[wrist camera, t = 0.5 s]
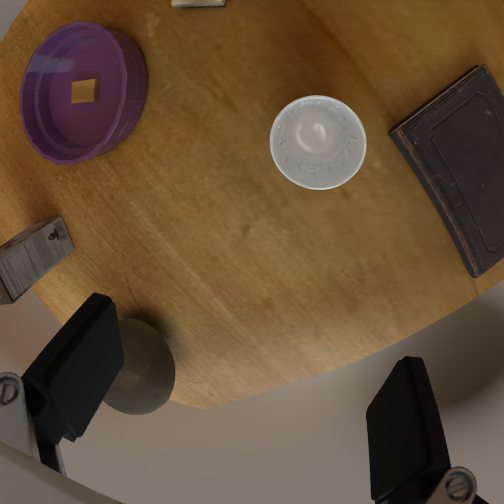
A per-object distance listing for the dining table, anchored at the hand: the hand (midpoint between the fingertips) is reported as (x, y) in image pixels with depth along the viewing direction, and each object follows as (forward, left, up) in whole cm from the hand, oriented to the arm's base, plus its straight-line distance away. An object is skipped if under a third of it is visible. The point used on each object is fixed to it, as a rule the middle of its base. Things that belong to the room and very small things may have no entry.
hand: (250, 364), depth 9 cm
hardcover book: (-5, +24, -29) cm, 38 cm away
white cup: (-5, +2, -29) cm, 30 cm away
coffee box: (+14, -37, -29) cm, 49 cm away
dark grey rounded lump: (+30, -19, -29) cm, 46 cm away
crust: (-9, -27, -28) cm, 40 cm away
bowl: (-9, -27, -29) cm, 40 cm away
